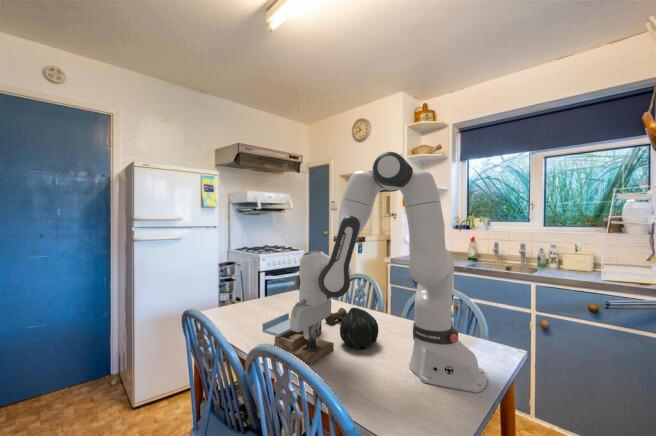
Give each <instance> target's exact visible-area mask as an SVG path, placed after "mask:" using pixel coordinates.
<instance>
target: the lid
mask: <svg viewBox="0 0 656 436" xmlns="http://www.w3.org/2000/svg"><path fill="white" fill-rule="evenodd" d="M290 331H292V330H291V329H290V313H288V312H286V313H284V314H281V315H279V316H277V317H274V318H273V319H270V320H267V321H265V322H263V323H262V333H264V334H268V335H271V336H274V337H276V336H277V337H280V336H282V335H284V334H286V333H288V332H290Z"/></svg>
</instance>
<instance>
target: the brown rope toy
mask: <svg viewBox="0 0 656 436" xmlns="http://www.w3.org/2000/svg"><path fill="white" fill-rule="evenodd" d="M347 313H348V312H347V310H346V309H345V308H344V307H339V309H338V310H337V312H333V313H332V312H331V314H330V316H329V317H327V318H325V319H324V321H325V322H326V324H327V325H329V326H331V325H333V324H334V323H335V321H342V320H343V318H344V317H345V315H346V314H347Z"/></svg>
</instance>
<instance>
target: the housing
mask: <svg viewBox="0 0 656 436" xmlns="http://www.w3.org/2000/svg"><path fill="white" fill-rule="evenodd" d="M306 341H307V339H305V338H304V332H303V330H302V331H301V332H295V331H290V332H288V333H286V334H284V335H282V336H280V337H277V336H274V347H275V346H277V347H279V348H281V349H283V350H285V351H287V352H289V353H291V354H293V355H294V356H296V357H297V358H299V359H300V360H302V361H303V362H305V363H306V364H305V365H307V366H309V367H310V366H313V365H314V364H316V363H317V362H318V361H320V360H321V359H322V358H324V357H326V356H327V355H328V354H330V353H331V352H332V351H334V347H335V346H334V342H332V341H328V340H324V339H321V338H317V337H316V347H315V348H307V347H306Z"/></svg>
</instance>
